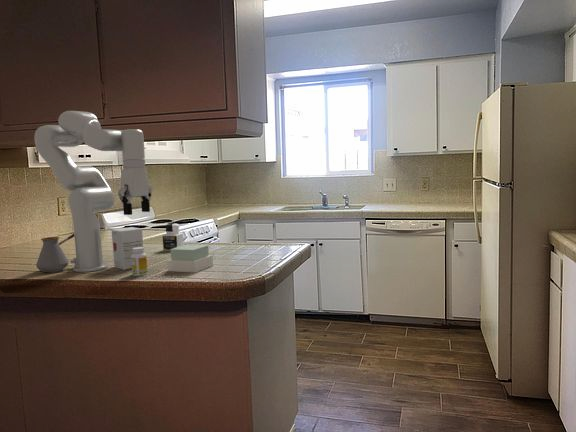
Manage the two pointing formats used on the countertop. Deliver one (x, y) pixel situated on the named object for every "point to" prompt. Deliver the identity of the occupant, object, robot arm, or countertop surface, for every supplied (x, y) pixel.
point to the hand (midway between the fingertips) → (137, 213)
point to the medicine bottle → (172, 237)
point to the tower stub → (190, 258)
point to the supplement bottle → (139, 262)
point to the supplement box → (125, 245)
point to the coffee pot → (52, 255)
